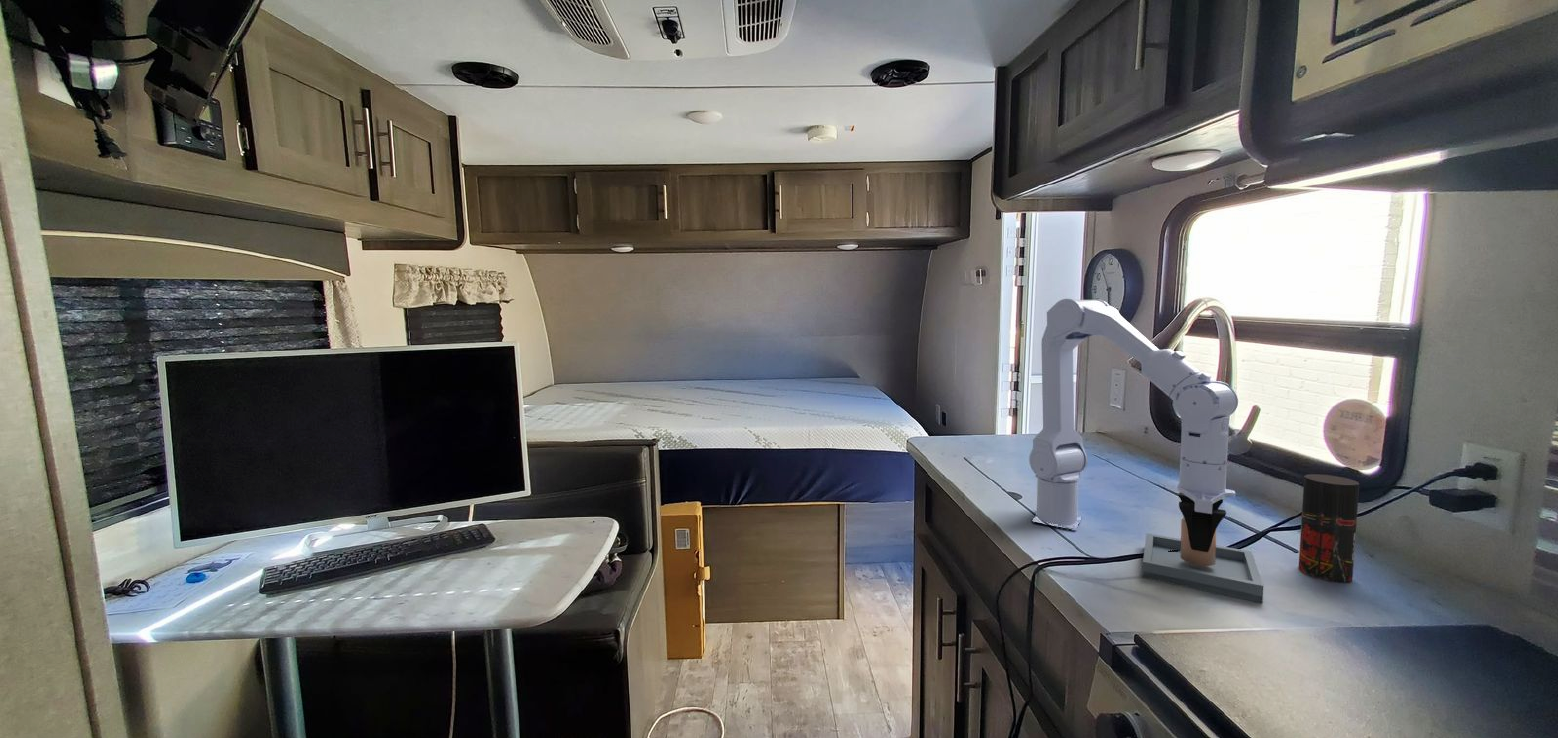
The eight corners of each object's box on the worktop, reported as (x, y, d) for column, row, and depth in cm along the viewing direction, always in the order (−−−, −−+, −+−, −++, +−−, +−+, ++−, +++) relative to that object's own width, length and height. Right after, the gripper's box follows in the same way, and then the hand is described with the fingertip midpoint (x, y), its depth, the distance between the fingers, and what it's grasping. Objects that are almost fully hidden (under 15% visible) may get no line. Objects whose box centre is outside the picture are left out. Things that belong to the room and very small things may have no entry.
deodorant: (1293, 562, 89) (1299, 472, 88) (1344, 570, 86) (1350, 477, 85) (1304, 577, 84) (1311, 481, 83) (1359, 586, 81) (1366, 487, 79)
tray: (1146, 546, 96) (1146, 533, 96) (1250, 566, 88) (1251, 551, 87) (1142, 577, 84) (1143, 561, 84) (1262, 603, 76) (1263, 585, 76)
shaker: (1180, 551, 89) (1181, 507, 88) (1214, 557, 86) (1216, 511, 86) (1180, 561, 85) (1181, 514, 85) (1216, 568, 83) (1218, 520, 82)
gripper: (1241, 474, 76) (1236, 568, 77) (1232, 453, 88) (1228, 535, 89) (1179, 467, 80) (1175, 556, 82) (1178, 448, 92) (1174, 526, 93)
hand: (1198, 544), depth 86 cm, fingers closed on shaker, 4 cm apart
